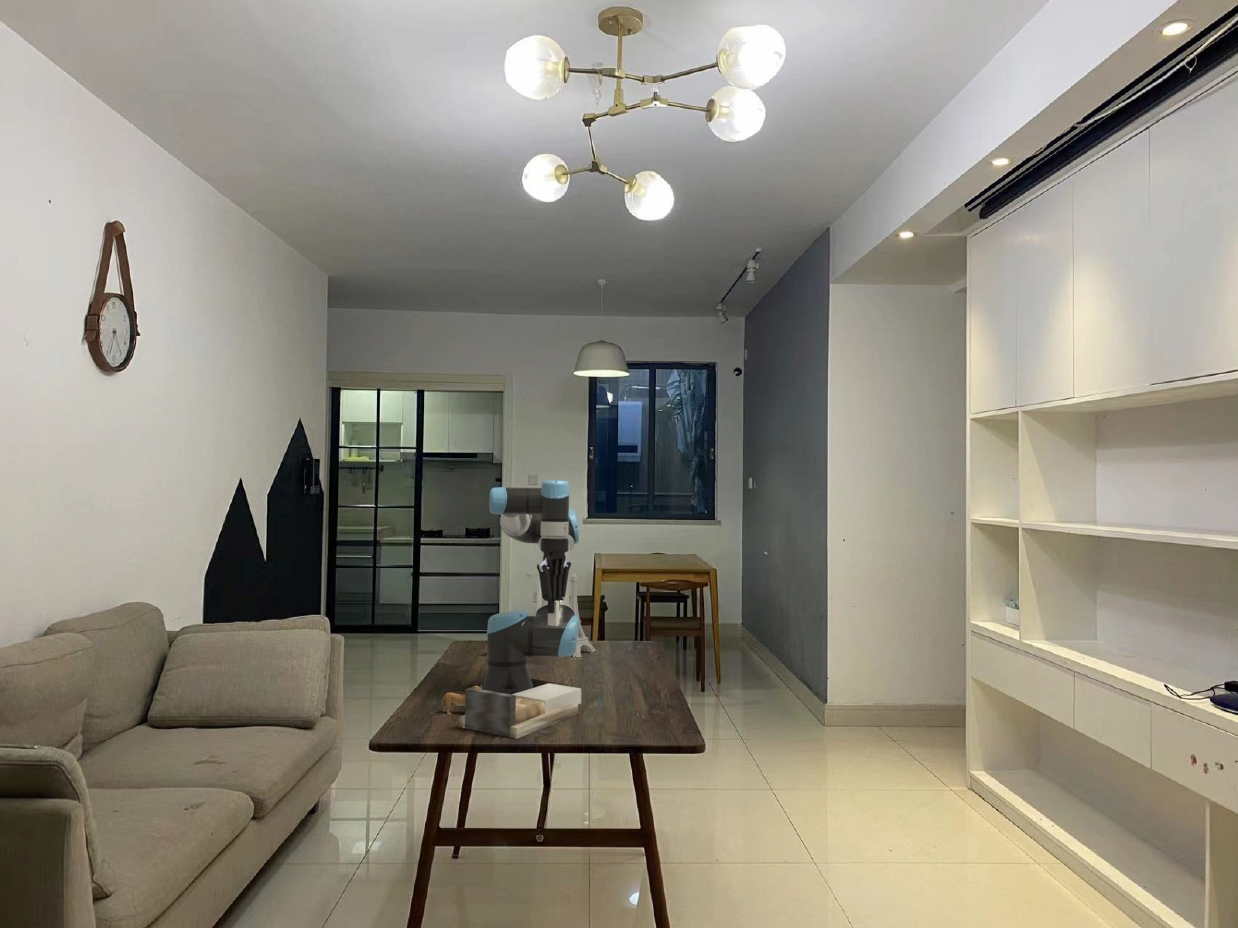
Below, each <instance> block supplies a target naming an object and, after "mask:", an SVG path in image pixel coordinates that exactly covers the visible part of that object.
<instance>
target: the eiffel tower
mask: <svg viewBox="0 0 1238 928" xmlns="http://www.w3.org/2000/svg"><path fill="white" fill-rule="evenodd" d="M578 581H579V579H578V576H577V574H576V571H572V574H571V575H570V607H571V608H572V609H573V610H574V612H575V615H576V616H579V617H580V614H579V607H578V594H577V591H578V590H577V588H578V587H577V585H578V584H577V582H578ZM581 623H582V620H581V619H580V623H579V633H578V641H577V648H576V652H575V653H574V654H573V655H572V658H573V657H575V656H576V657H582V654H581V649H582V648H581V647H582V646H583V647H585V648H586V649H587V650H588V652H589V651H590V652H594V651H597V650H596V648H594V646H593V645H592V644H591V642H590V641H589V637H588V636H586V634H585V633H584V630H583V627H582V625H581Z"/></svg>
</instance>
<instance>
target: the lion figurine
mask: <svg viewBox="0 0 1238 928" xmlns="http://www.w3.org/2000/svg"><path fill="white" fill-rule="evenodd" d="M480 687H481V686H478V685H474V686H472V687H471V688H475V689H481V690H482V688H480ZM465 693H466V690H465V691H463V692H461V693H460V694H459V693H455V692H447V693H446V694H445V695H444V696H443V698H442V701H441V705H440V707H439V709H437V710H436V711H435V713H439V712H441V710H442V712H443V713H445V712H446V714H447V715H448V716H449V715H452V712H450V707H451V705H452V703H453V704H454V705H456V706H457V707H459V706H460V707H462V706H464V707H465Z"/></svg>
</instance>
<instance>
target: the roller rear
mask: <svg viewBox="0 0 1238 928" xmlns="http://www.w3.org/2000/svg"><path fill="white" fill-rule="evenodd" d="M516 703H519V704H524V705H529V706H534V707H536V708H537V717H538V716H541V715H543V714H544V713H545V705H544V703H543V702H538V701H532V700H526V699H521V698H516Z"/></svg>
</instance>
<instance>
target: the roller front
mask: <svg viewBox="0 0 1238 928" xmlns="http://www.w3.org/2000/svg"><path fill="white" fill-rule="evenodd" d="M524 721H527V712H526V711H525V710H522V709H517V708H516V711H515V725H516V724H519V723H522V722H524Z"/></svg>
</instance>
